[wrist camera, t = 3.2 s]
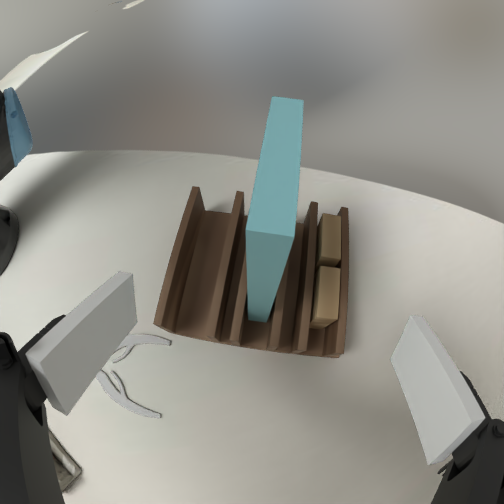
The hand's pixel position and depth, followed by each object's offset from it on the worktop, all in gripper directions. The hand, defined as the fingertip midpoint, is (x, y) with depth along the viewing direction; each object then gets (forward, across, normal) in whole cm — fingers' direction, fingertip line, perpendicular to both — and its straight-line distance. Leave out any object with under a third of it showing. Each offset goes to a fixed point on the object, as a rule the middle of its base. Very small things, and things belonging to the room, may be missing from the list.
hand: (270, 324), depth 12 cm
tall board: (+18, -1, -7) cm, 20 cm away
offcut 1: (+21, +6, -4) cm, 22 cm away
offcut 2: (+17, +6, -8) cm, 20 cm away
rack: (+19, -1, -7) cm, 21 cm away
